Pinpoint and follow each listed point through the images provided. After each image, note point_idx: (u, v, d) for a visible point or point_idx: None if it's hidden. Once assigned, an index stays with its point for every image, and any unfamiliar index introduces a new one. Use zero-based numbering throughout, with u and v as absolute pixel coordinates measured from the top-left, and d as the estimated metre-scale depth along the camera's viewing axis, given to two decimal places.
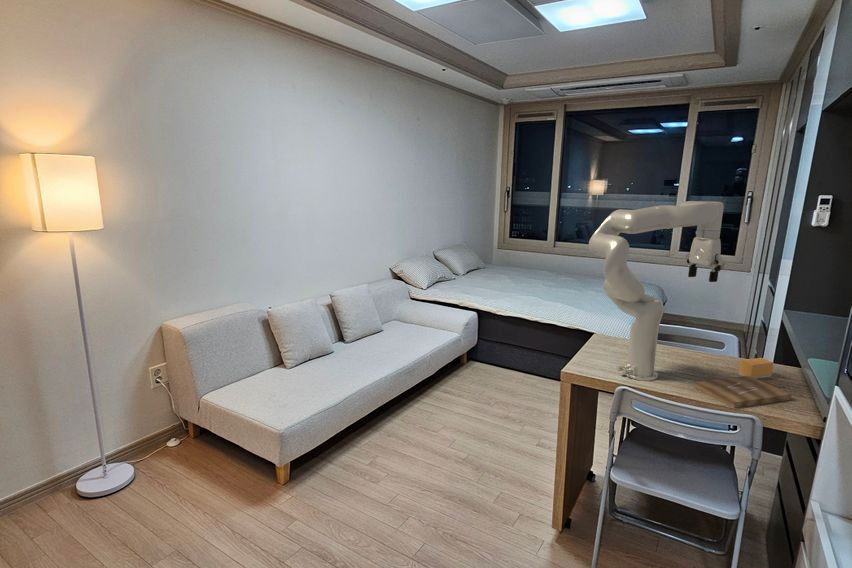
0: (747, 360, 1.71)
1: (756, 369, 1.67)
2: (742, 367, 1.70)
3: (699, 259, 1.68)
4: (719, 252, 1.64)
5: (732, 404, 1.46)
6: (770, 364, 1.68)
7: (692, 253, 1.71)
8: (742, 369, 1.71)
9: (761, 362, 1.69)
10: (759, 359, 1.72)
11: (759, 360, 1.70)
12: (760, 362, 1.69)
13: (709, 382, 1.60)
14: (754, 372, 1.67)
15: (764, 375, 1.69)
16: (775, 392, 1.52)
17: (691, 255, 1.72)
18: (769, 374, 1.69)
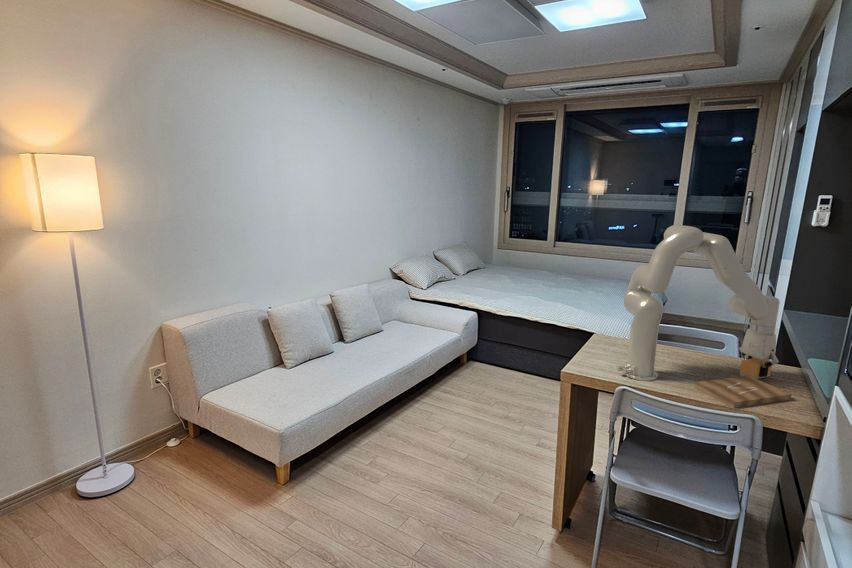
0: (748, 360, 1.70)
1: (758, 369, 1.67)
2: (743, 367, 1.70)
3: (753, 352, 1.68)
4: (775, 347, 1.64)
5: (732, 404, 1.46)
6: None
7: (745, 344, 1.71)
8: (743, 369, 1.70)
9: (761, 362, 1.69)
10: None
11: (759, 360, 1.70)
12: (760, 361, 1.69)
13: (709, 382, 1.60)
14: (756, 372, 1.67)
15: None
16: (775, 392, 1.52)
17: (744, 346, 1.72)
18: (768, 373, 1.70)
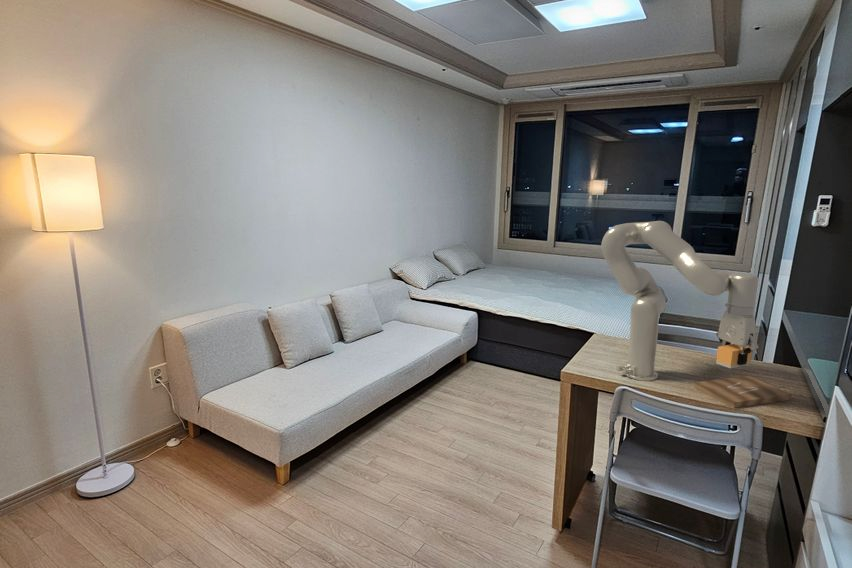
0: (725, 346, 1.51)
1: (736, 356, 1.48)
2: (720, 355, 1.51)
3: (731, 337, 1.49)
4: (754, 331, 1.45)
5: (732, 404, 1.46)
6: None
7: (722, 329, 1.52)
8: (720, 357, 1.51)
9: None
10: None
11: (737, 346, 1.52)
12: (739, 347, 1.50)
13: (709, 382, 1.60)
14: (734, 359, 1.48)
15: None
16: (775, 392, 1.52)
17: (721, 331, 1.53)
18: (748, 361, 1.51)
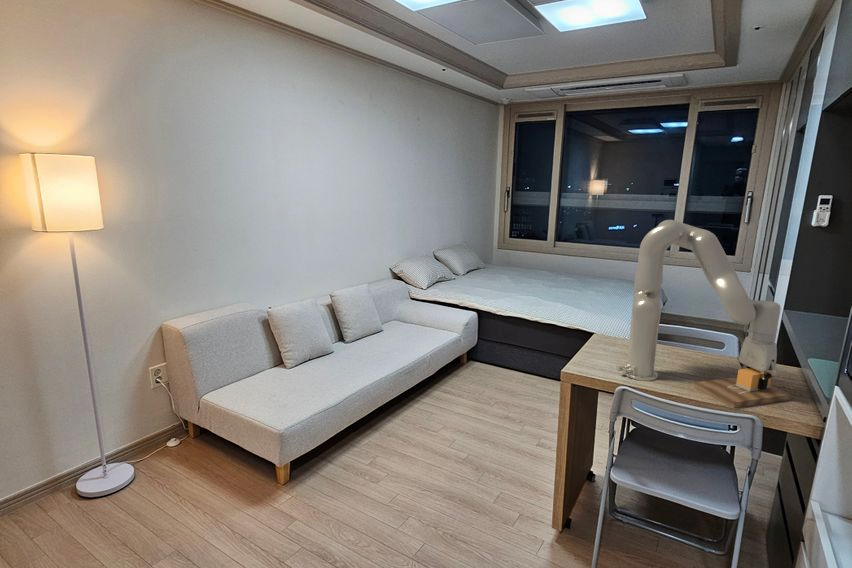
0: (745, 370, 1.56)
1: (756, 380, 1.53)
2: (740, 377, 1.56)
3: (752, 362, 1.54)
4: (775, 357, 1.50)
5: (732, 404, 1.46)
6: None
7: (743, 354, 1.57)
8: (740, 380, 1.56)
9: None
10: None
11: (758, 370, 1.56)
12: (759, 371, 1.55)
13: (709, 382, 1.60)
14: (754, 383, 1.53)
15: None
16: (775, 392, 1.52)
17: (742, 356, 1.58)
18: (768, 384, 1.56)
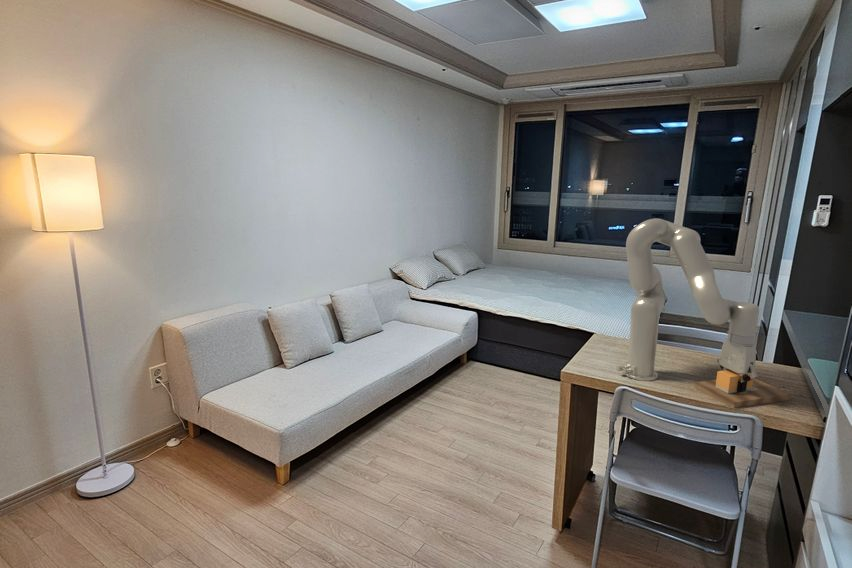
0: (725, 371, 1.54)
1: (734, 382, 1.51)
2: (719, 379, 1.54)
3: (731, 365, 1.52)
4: (754, 360, 1.48)
5: (732, 404, 1.46)
6: None
7: (723, 356, 1.55)
8: (719, 381, 1.54)
9: None
10: None
11: None
12: None
13: (709, 382, 1.60)
14: (732, 385, 1.51)
15: None
16: (775, 392, 1.52)
17: (721, 358, 1.56)
18: (749, 387, 1.53)
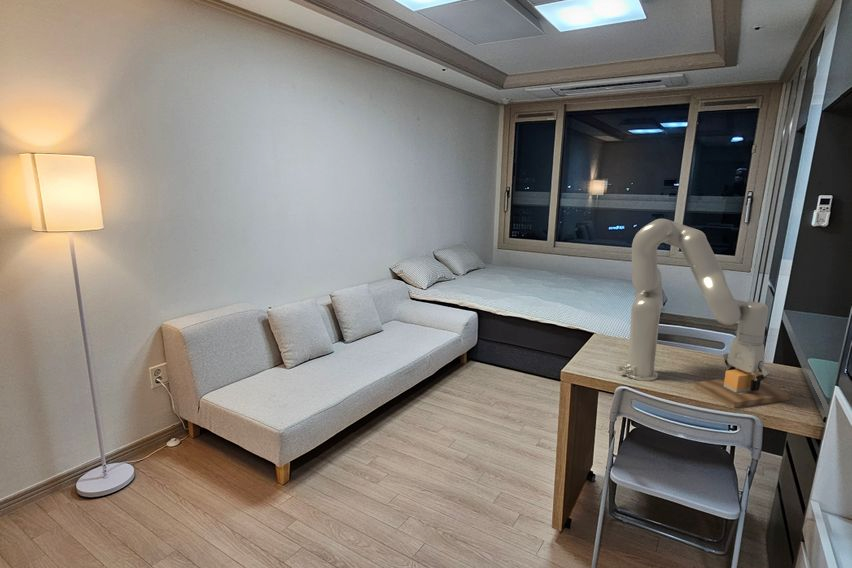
0: (733, 371, 1.55)
1: (742, 381, 1.52)
2: (727, 378, 1.55)
3: (740, 364, 1.53)
4: (763, 359, 1.49)
5: (732, 404, 1.46)
6: None
7: (731, 355, 1.56)
8: (727, 380, 1.55)
9: (748, 373, 1.53)
10: None
11: None
12: (747, 373, 1.54)
13: (709, 382, 1.60)
14: (740, 384, 1.52)
15: None
16: (775, 392, 1.52)
17: (730, 357, 1.57)
18: None
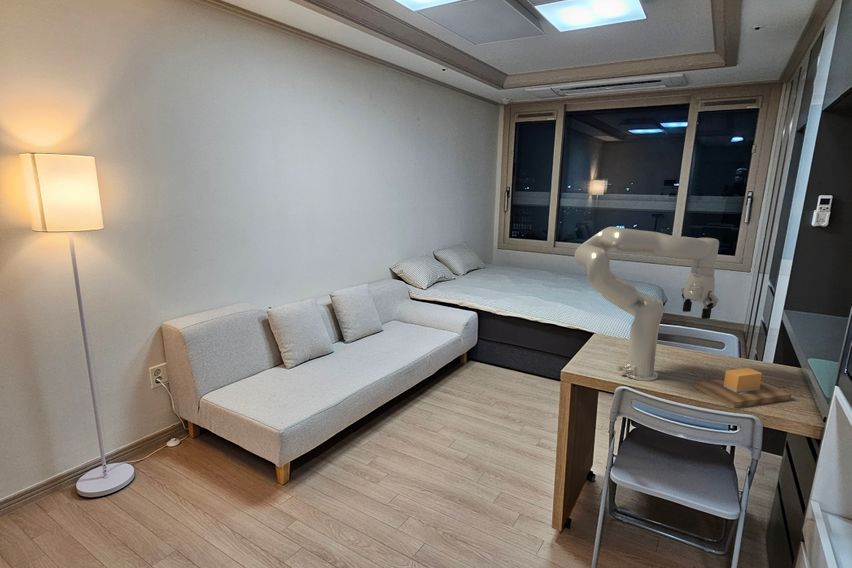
0: (733, 371, 1.55)
1: (742, 381, 1.52)
2: (727, 378, 1.55)
3: (693, 295, 1.67)
4: (713, 289, 1.63)
5: (732, 404, 1.46)
6: (758, 375, 1.53)
7: (686, 288, 1.70)
8: (727, 380, 1.55)
9: (748, 373, 1.53)
10: (747, 369, 1.56)
11: (746, 371, 1.55)
12: (747, 373, 1.54)
13: (709, 382, 1.60)
14: (740, 384, 1.52)
15: (751, 387, 1.54)
16: (775, 392, 1.52)
17: (685, 290, 1.71)
18: (757, 386, 1.54)
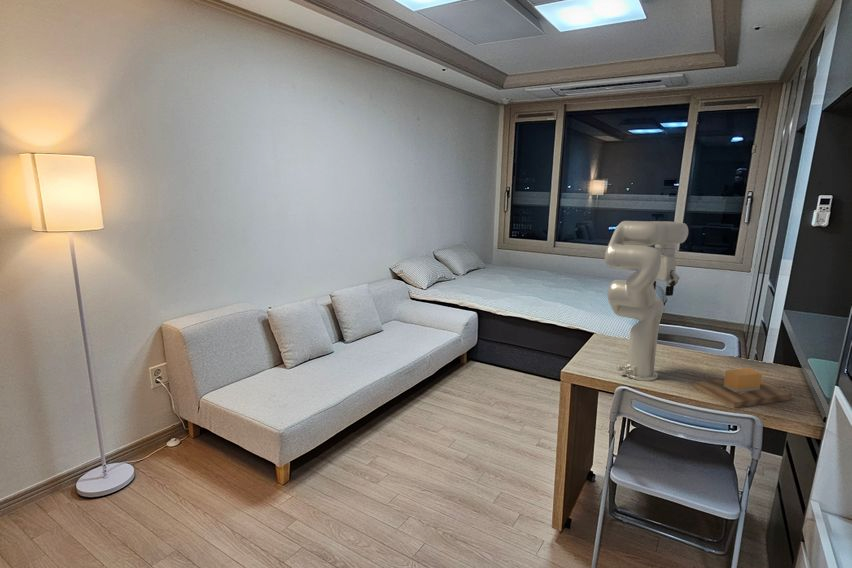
0: (733, 371, 1.55)
1: (742, 381, 1.52)
2: (727, 378, 1.55)
3: None
4: (674, 268, 1.78)
5: (732, 404, 1.46)
6: (758, 375, 1.53)
7: None
8: (727, 380, 1.55)
9: (748, 373, 1.53)
10: (747, 369, 1.56)
11: (746, 371, 1.55)
12: (747, 373, 1.54)
13: (709, 382, 1.60)
14: (740, 384, 1.52)
15: (751, 387, 1.54)
16: (775, 392, 1.52)
17: None
18: (757, 386, 1.54)
